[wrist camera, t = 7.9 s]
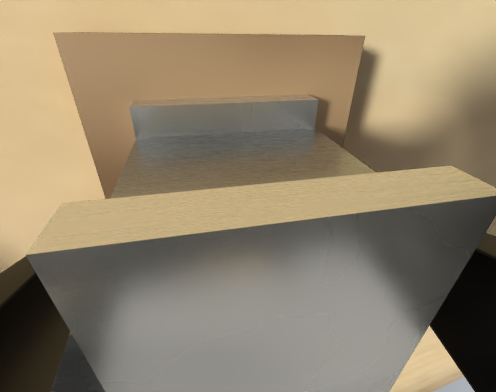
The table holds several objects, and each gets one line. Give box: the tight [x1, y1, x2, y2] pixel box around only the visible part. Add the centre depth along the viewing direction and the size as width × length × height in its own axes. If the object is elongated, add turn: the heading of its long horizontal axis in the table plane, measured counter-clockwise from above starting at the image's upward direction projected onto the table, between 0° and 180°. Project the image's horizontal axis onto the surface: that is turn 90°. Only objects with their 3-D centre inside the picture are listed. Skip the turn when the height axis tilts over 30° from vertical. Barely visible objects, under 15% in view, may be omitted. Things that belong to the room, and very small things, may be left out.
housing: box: [26, 94, 496, 392], centre depth 7 cm, size 7×5×6 cm
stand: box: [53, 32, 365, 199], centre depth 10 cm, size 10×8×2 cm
